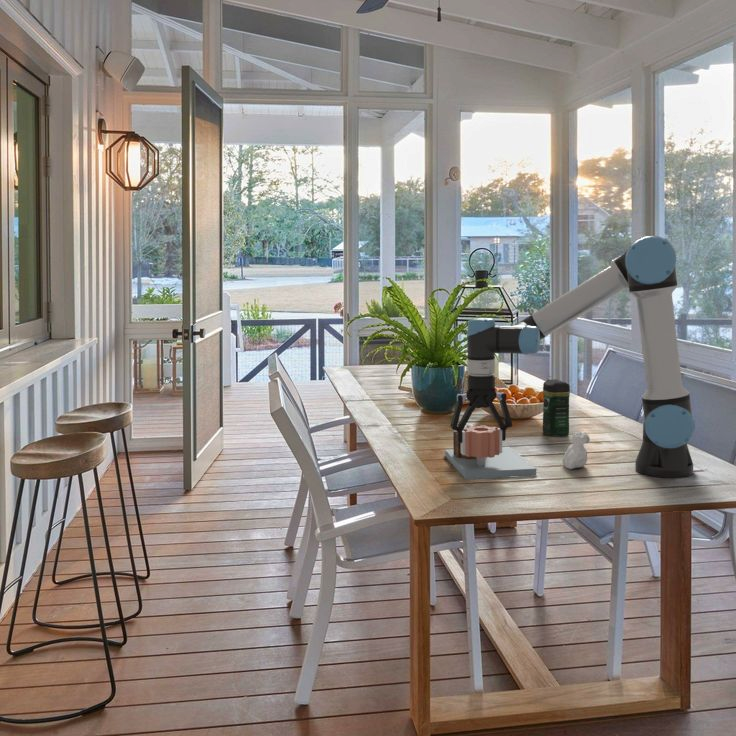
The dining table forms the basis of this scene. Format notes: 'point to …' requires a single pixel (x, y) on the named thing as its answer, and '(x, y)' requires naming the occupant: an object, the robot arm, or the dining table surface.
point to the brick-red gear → (482, 441)
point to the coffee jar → (556, 407)
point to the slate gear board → (492, 465)
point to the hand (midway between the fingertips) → (481, 453)
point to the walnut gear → (458, 448)
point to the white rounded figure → (576, 451)
